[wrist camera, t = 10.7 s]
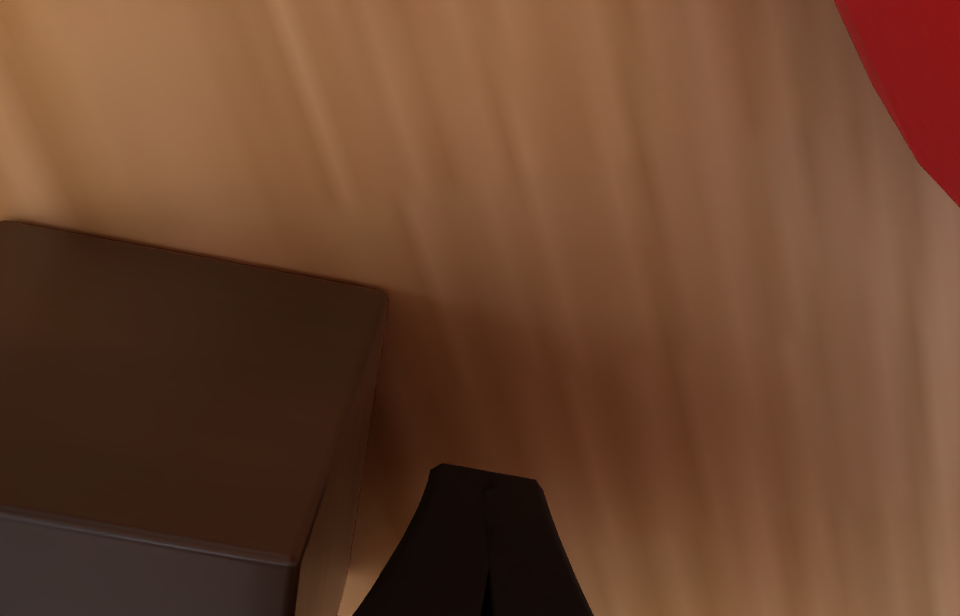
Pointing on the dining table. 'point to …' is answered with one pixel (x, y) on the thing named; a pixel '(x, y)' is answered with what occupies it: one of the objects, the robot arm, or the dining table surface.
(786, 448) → the dining table surface
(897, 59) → the tomato
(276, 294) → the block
